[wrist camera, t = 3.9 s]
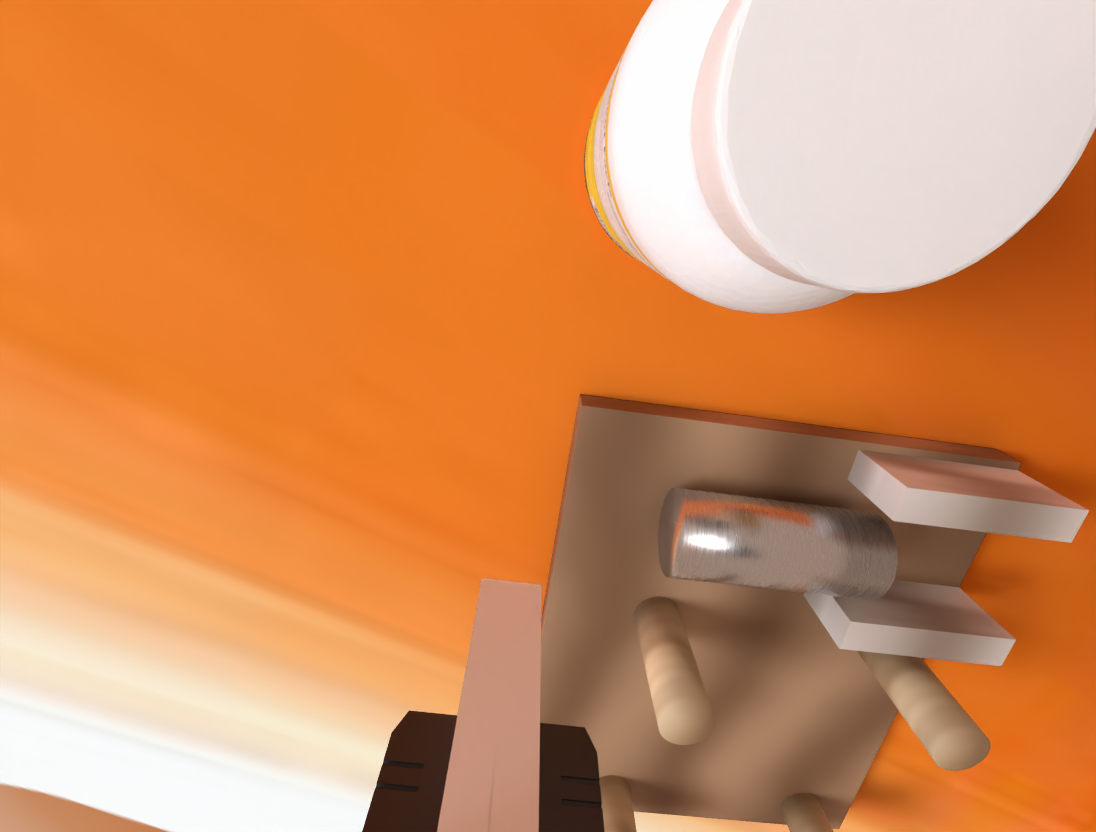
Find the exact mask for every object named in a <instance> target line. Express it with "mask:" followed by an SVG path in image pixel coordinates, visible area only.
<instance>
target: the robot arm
mask: <svg viewBox="0 0 1096 832" xmlns="http://www.w3.org/2000/svg"><path fill="white" fill-rule="evenodd" d="M541 603H542V585H539V584H530V583H522V582H513V581H504V580H496V579H487V578H482V580H481V586H480V591H479V597H478V603H477V608H476V614H475V620H474V625H473V631H472V637H471V642H470V648H469V654H468V659H467V665H466V670H465V676H464V682H463V687H462V693H461V699H460V704H459V710H458V716H456V715H446V714H436V713H427V712H417V711H409V712H408V713H407V714H406V715H405V717H404V718H403V719H402V720H401V722H400V723H399V724H398V726H397V727H396V728H395V729H394V731H393V732H392V734H391V737H390V740H389V744H388V747H387V751H386V754H385V757H384V762H383V765H382V767H381V771H380V774H379V777H378V781H377V786H376V789H375V791H374V794H373V798H372V801H371V804H370V808H369V811H368V814H367V818H366V821H365V824H364V828H363V831H362V832H605V831H604V820H603V809H602V799H601V788H600V784H599V781H600V777H599V767H598V756H597V751H596V749H595V747H594V745H593V743H592V741H591V739H590V737H589V735H588V733H587V731H586V729H585V727H578V726H568V725H558V724H548V723H540V681H541Z"/></svg>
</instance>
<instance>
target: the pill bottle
mask: <svg viewBox="0 0 1096 832" xmlns="http://www.w3.org/2000/svg"><path fill="white" fill-rule="evenodd" d="M1095 128H1096V0H653V1H652V3H651V5H650V6H649V8H648V9H647V11H646V13H645V14H644V16H643V17H642V19H641V21H640V22H639V24H638V26H637V28H636V30H635V32H634V34H633V36H632V38H631V39H630V41H629V43H628V45H627V47H626V49H625V51H624V53H623V55H622V57H621V59H620V61H619V63H618V65H617V67H616V69H615V71H614V73H613V75H612V77H611V79H610V81H609V83H608V85H607V87H606V89H605V91H604V93H603V95H602V97H601V99H600V101H599V103H598V105H597V107H596V110H595V112H594V115H593V117H592V120H591V124H590V127H589V131H588V135H587V139H586V146H585V156H584V173H585V182H586V188H587V192H588V196H589V199H590V202H591V205H592V208H593V210H594V212H595V215H596V217H597V219H598V220H599V222H600V224H601V226H602V227H603V229H604V230H605V232H606V233H607V234H608V235H609V237H610V238H611V239H612V240H613V241H614V242H615V243H616V244H617V245H618V246H619V247H620V248H621V249H622V250H624V251H625V252H626V253H627V254H629V255H630V256H631V257H633V258H635V259H637V260H638V261H640V262H642V263H643V264H645V265H647V266H648V267H650V268H651V269H653V270H654V271H656V272H657V273H659V274H660V275H661V276H663V277H664V278H666V279H667V280H669V281H670V282H672V283H674V284H675V285H677V286H678V287H680V288H682V289H683V290H685V291H687V292H689V293H691V294H693V295H695V296H696V297H698V298H701V299H703V300H705V301H708V302H710V303H712V304H715V305H719V306H722V307H725V308H729V309H732V310H738V311H744V312H751V313H772V314H777V313H788V312H797V311H802V310H807V309H812V308H817V307H820V306H824V305H827V304H830V303H833V302H835V301H838V300H841V299H843V298H845V297H848V296H850V295H852V294H854V293H886V292H896V291H902V290H906V289H910V288H915V287H919V286H922V285H925V284H929V283H932V282H935V281H938V280H940V279H943V278H946V277H948V276H951V275H953V274H955V273H957V272H959V271H961V270H963V269H965V268H967V267H968V266H970V265H972V264H974V263H976V262H978V261H979V260H981V259H982V258H984V257H985V256H987V255H988V254H989V253H991V252H992V251H994V250H995V249H997V248H998V247H999V246H1001V245H1002V244H1003V243H1005V242H1006V241H1007V240H1009V239H1010V238H1011V237H1012V236H1013V235H1015V234H1016V233H1017V232H1018V231H1019V230H1020V229H1021V228H1022V227H1023V226H1024V225H1025V224H1026V223H1027V222H1028V221H1030V220H1031V219H1032V218H1033V217H1035V216H1036V215H1037V214H1038V212H1039V211H1040V210H1041V209H1042V208H1043V207H1044V206H1045V205H1046V203H1047V202H1048V201H1049V200H1050V199H1051V198H1052V197H1053V196H1054V195H1055V193H1056V192H1057V191H1058V190H1059V188H1060V187H1061V186H1062V184H1063V183H1064V181H1065V180H1066V178H1067V177H1068V175H1069V174H1070V172H1071V171H1072V169H1073V168H1074V166H1075V165H1076V163H1077V162H1078V160H1079V159H1080V157H1081V155H1082V153H1083V151H1084V149H1085V147H1086V146H1087V144H1088V142H1089V140H1090V138H1091V136H1092V134H1093V132H1094V130H1095Z"/></svg>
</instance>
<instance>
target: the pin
mask: <svg viewBox="0 0 1096 832" xmlns="http://www.w3.org/2000/svg"><path fill="white" fill-rule="evenodd" d="M658 556H659V562H660V566H661V570H662V572H663V574H664V575H665V576H666V577H668V578H677V579H685V580H694V581H703V582H712V583H721V584H730V585H739V586H747V587H756V588H765V589H774V590H783V591H792V592H801V593H810V594H818V595H827V596H836V597H845V598H854V599H863V600H876V599H879V598H881V597H882V596H884V595H885V594H886V593H887V592H888V590H889V589H890V588H891V586H892V584H893V581H894V579H895V576H896V572H897V564H898V553H897V546H896V541H895V538H894V535H893V532H892V530H891V528H890V527H889V525H888V524H887V522H886V521H885V520H884V519H883V518H882V517H881V516H880V515H878V514H876V513H874V512H868V511H860V510H852V509H844V508H836V507H828V506H819V505H811V504H803V503H795V502H787V501H779V500H771V499H762V498H754V497H746V496H738V495H730V494H722V493H714V492H705V491H697V490H689V489H681V488H672V489H670V490H669V492H668V493H667V495H666V497H665V499H664V502H663V505H662V509H661V514H660V519H659V527H658Z"/></svg>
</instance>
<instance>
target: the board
mask: <svg viewBox="0 0 1096 832" xmlns="http://www.w3.org/2000/svg"><path fill="white" fill-rule="evenodd" d="M1020 465H1021V462H1019V461H1017V460H1015V459H1013V458H1012V457H1010V456H1008V455H1006V454H1004V453H1002V452H1000V451H999V450H997V449H992V448H985V447H977V446H970V445H962V444H954V443H947V442H939V441H932V440H924V439H916V438H909V437H901V436H894V435H886V434H878V433H871V432H863V431H856V430H848V429H840V428H833V427H825V426H817V425H810V424H802V423H795V422H787V421H779V420H772V419H764V418H757V417H749V416H741V415H734V414H726V413H719V412H711V411H703V410H696V409H688V408H681V407H673V406H665V405H658V404H650V403H643V402H635V401H627V400H620V399H612V398H605V397H597V396H589V395H582V394H580V397H579V403H578V408H577V414H576V420H575V426H574V432H573V438H572V443H571V449H570V455H569V461H568V467H567V473H566V478H565V484H564V490H563V496H562V502H561V508H560V513H559V519H558V525H557V531H556V537H555V543H554V548H553V554H552V560H551V566H550V572H549V578H548V583H547V589H546V595H545V601H544V607H543V613H542V619H541V681H540V723H548V724H558V725H568V726H578V727H585V729H586V731H587V733H588V735H589V737H590V739H591V741H592V743H593V745H594V747H595V749H596V751H597V756H598V767H599V777H600V781H599V784H600V788H601V799H602V809H603V820H604V831H605V832H636V825H635V819H634V812H633V811H636V812H648V813H659V814H671V815H682V816H694V817H705V818H717V819H728V820H740V821H751V822H763V823H774V824H786V825H788V828H789V830H790V832H833V830H832V829H839V828H840V826H841V824H842V822H843V820H844V818H845V816H846V814H847V812H848V810H849V808H850V806H851V804H852V802H853V800H854V798H855V796H856V794H857V792H858V790H859V788H860V786H861V784H862V782H863V780H864V778H865V776H866V774H867V772H868V770H869V768H870V766H871V764H872V762H873V760H874V758H875V756H876V754H877V752H878V750H879V748H880V746H881V744H882V742H883V740H884V738H885V736H886V734H887V732H888V730H889V728H890V726H891V724H892V722H893V720H894V718H895V716H896V714H897V712H898V710H899V712H900V713H901V714H902V716H903V717H904V719H905V720H906V722H907V723H908V724H909V726H910V727H911V729H912V730H913V732H914V733H915V734H916V736H917V737H918V739H919V740H920V741H921V743H922V744H923V746H924V747H925V749H926V750H927V751H928V753H929V754H930V756H931V757H932V759H933V760H934V761H935V763H936V764H937V765H938V766H939V767H941V768H943V769H946V770H951V771H958V770H964V769H967V768H970V767H973V766H975V765H976V764H978V763H980V762H981V761H982V760H983V759H984V758H985V757H986V756H987V754H988V753H989V750H990V741H989V739H988V738H987V737H986V735H985V734H984V733H983V732H982V731H981V729H980V728H979V727H978V726H977V725H976V723H975V722H974V721H973V720H972V719H971V717H970V716H969V715H968V714H967V713H966V711H965V710H964V709H963V708H962V707H961V705H960V704H959V703H958V702H957V701H956V699H955V698H954V697H953V696H952V695H951V693H950V692H949V691H948V690H947V689H946V687H945V686H944V685H943V684H942V683H941V681H940V680H939V679H938V678H937V677H936V675H935V674H934V673H933V672H932V671H931V669H930V668H929V667H928V666H927V665H926V663H925V662H924V661H923V659H924V658H930V659H939V660H949V661H958V662H967V663H977V664H986V665H995V666H1002V664H1003V662H1004V660H1005V659H1006V657H1007V655H1008V653H1009V652H1010V650H1011V648H1012V646H1013V645H1014V643H1015V641H1016V639H1015V638H1014V637H1013V636H1012V635H1010V634H1009V633H1008V632H1007V631H1006V630H1005V629H1004V628H1003V627H1002V626H1001V625H1000V624H999V623H997V622H996V621H995V620H994V619H993V618H992V617H991V616H990V615H989V614H988V613H987V612H986V611H984V610H983V609H982V608H981V607H980V606H979V605H978V604H977V603H976V602H975V601H974V600H972V599H971V598H970V597H969V596H968V595H967V594H966V593H965V592H964V591H963V590H962V589H961V588H959V587H960V585H961V583H962V581H963V579H964V577H965V575H966V573H967V571H968V569H969V567H970V565H971V563H972V561H973V559H974V557H975V555H976V553H977V551H978V549H979V547H980V545H981V543H982V541H983V539H984V537H985V535H986V533H995V534H1004V535H1012V536H1020V537H1028V538H1036V539H1045V540H1053V541H1061V542H1069V543H1071V542H1072V540H1073V539H1074V537H1075V535H1076V533H1077V532H1078V530H1079V528H1080V526H1081V525H1082V523H1083V521H1084V519H1085V517H1086V516H1087V514H1088V512H1089V510H1088V509H1086V508H1084V507H1082V506H1080V505H1079V504H1077V503H1075V502H1073V501H1072V500H1070V499H1068V498H1066V497H1064V496H1063V495H1061V494H1059V493H1057V492H1056V491H1054V490H1052V489H1050V488H1048V487H1047V486H1045V485H1043V484H1041V483H1039V482H1038V481H1036V480H1034V479H1032V478H1031V477H1029V476H1027V475H1025V474H1023V473H1022V472H1020V471H1018V469H1019V467H1020ZM672 488H681V489H689V490H697V491H705V492H714V493H722V494H730V495H738V496H746V497H754V498H762V499H771V500H779V501H787V502H795V503H803V504H811V505H819V506H828V507H836V508H844V509H852V510H860V511H868V512H874V513H876V514H878V515H880V516H881V517H882V518H883V519H884V520H885V521H886V522H887V524H888V525H889V527H890V528H891V530H892V532H893V535H894V538H895V541H896V546H897V553H898V564H897V572H896V576H895V579H894V581H893V584H892V586H891V588H890V589H889V590H888V592H887V593H886V594H885V595H884V596H882V597H881V598H879V599H876V600H863V599H854V598H845V597H836V596H827V595H818V594H810V593H801V592H792V591H783V590H774V589H765V588H756V587H747V586H739V585H730V584H721V583H712V582H703V581H694V580H685V579H677V578H668V577H666V576H665V575H664V574H663V572H662V570H661V566H660V562H659V556H658V527H659V519H660V514H661V509H662V505H663V502H664V499H665V497H666V495H667V493H668V492H669V490H670V489H672Z"/></svg>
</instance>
